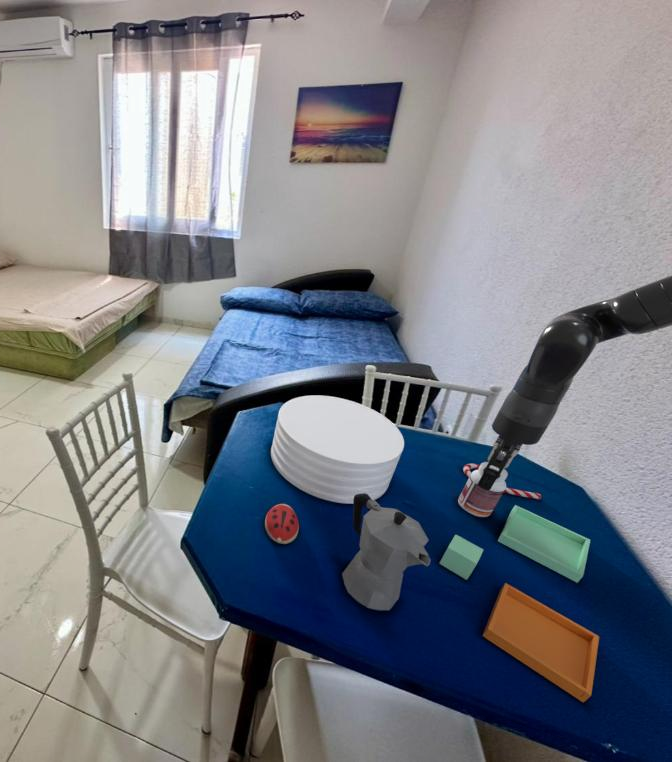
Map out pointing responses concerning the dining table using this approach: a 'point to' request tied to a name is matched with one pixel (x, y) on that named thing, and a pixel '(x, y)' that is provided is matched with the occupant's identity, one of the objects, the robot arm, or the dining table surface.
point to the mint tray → (546, 543)
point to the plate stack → (335, 448)
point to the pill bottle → (482, 493)
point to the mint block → (461, 557)
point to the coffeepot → (382, 553)
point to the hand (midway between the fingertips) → (488, 478)
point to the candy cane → (507, 490)
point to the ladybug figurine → (282, 524)
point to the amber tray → (544, 641)
